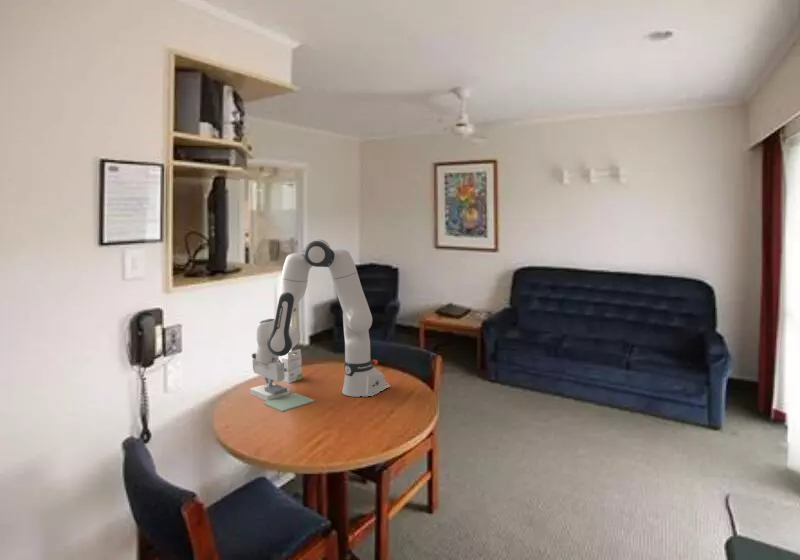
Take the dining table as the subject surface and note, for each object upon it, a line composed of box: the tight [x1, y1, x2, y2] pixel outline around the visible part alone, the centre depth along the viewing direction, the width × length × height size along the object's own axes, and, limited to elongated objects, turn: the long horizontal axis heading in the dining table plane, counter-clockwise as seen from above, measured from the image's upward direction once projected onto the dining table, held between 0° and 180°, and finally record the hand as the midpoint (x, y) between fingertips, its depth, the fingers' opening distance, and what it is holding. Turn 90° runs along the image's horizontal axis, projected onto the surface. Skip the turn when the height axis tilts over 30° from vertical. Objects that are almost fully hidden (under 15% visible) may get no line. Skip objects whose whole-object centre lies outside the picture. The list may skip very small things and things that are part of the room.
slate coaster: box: [265, 383, 288, 395], centre depth 212 cm, size 6×8×2 cm
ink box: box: [281, 348, 303, 384], centre depth 235 cm, size 9×5×15 cm, turn 144°
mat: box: [262, 392, 316, 413], centre depth 206 cm, size 16×14×1 cm
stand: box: [249, 382, 291, 402], centre depth 216 cm, size 11×14×2 cm
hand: (269, 386), depth 216 cm, fingers closed
